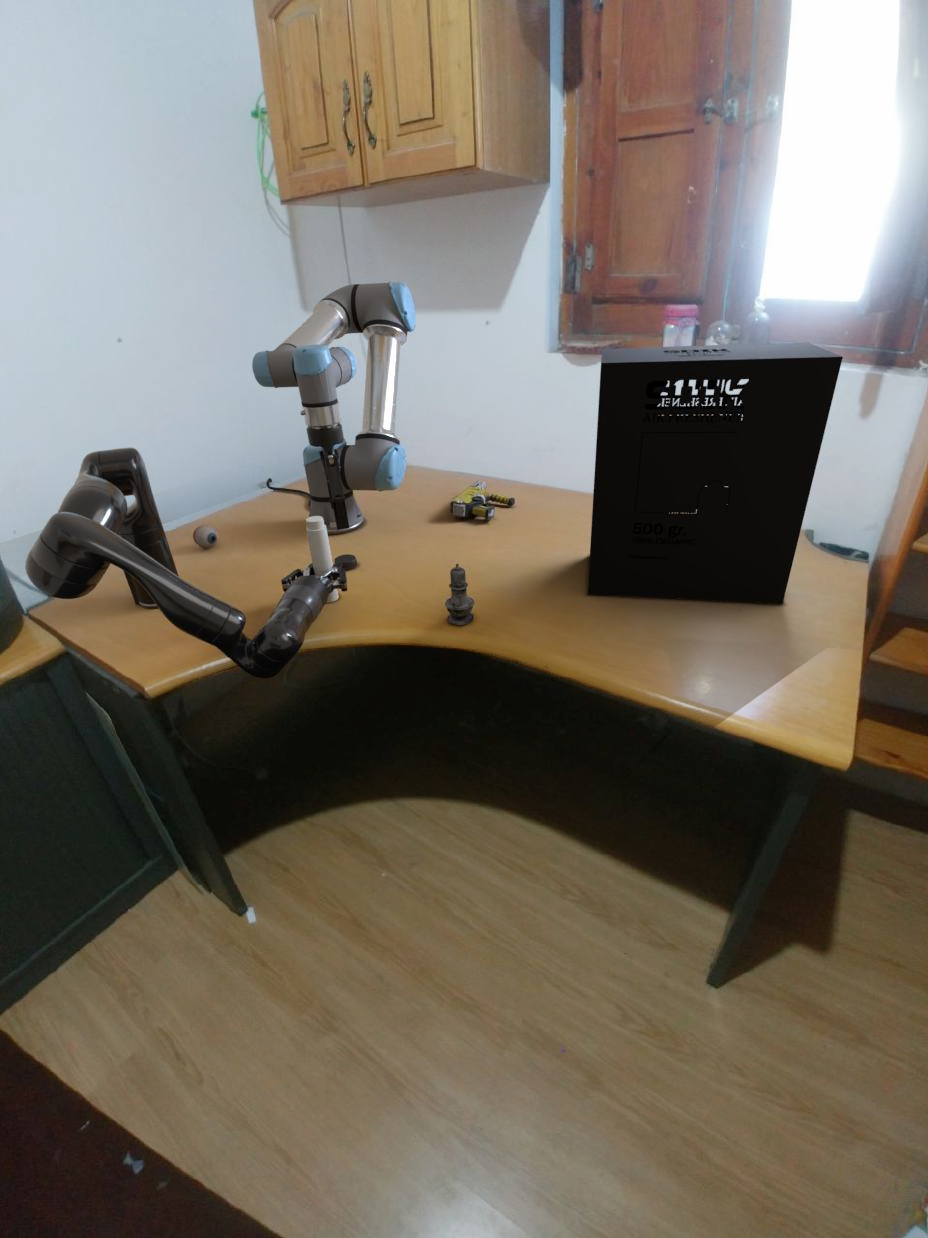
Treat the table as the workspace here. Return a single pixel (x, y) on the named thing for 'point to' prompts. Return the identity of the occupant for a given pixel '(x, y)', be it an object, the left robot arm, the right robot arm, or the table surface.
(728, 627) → the table surface
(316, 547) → the white cylinder
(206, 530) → the eyeball
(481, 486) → the toy gun
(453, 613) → the dark grey chess piece
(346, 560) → the lid
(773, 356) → the cardboard box
